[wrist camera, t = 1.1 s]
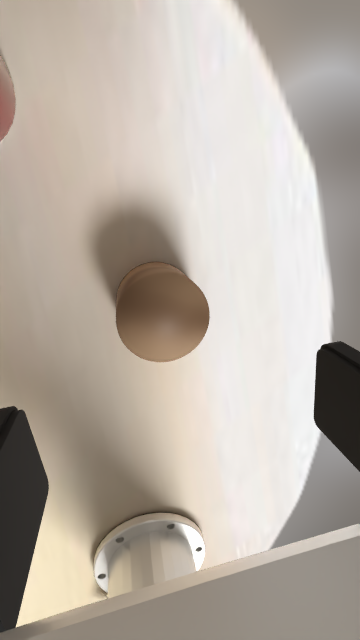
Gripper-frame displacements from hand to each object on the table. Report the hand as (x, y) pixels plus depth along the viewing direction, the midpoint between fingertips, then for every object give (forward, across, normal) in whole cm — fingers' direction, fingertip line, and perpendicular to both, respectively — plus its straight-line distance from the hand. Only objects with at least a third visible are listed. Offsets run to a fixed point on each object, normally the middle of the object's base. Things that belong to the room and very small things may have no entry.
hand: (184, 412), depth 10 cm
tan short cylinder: (+17, -1, +1) cm, 17 cm away
